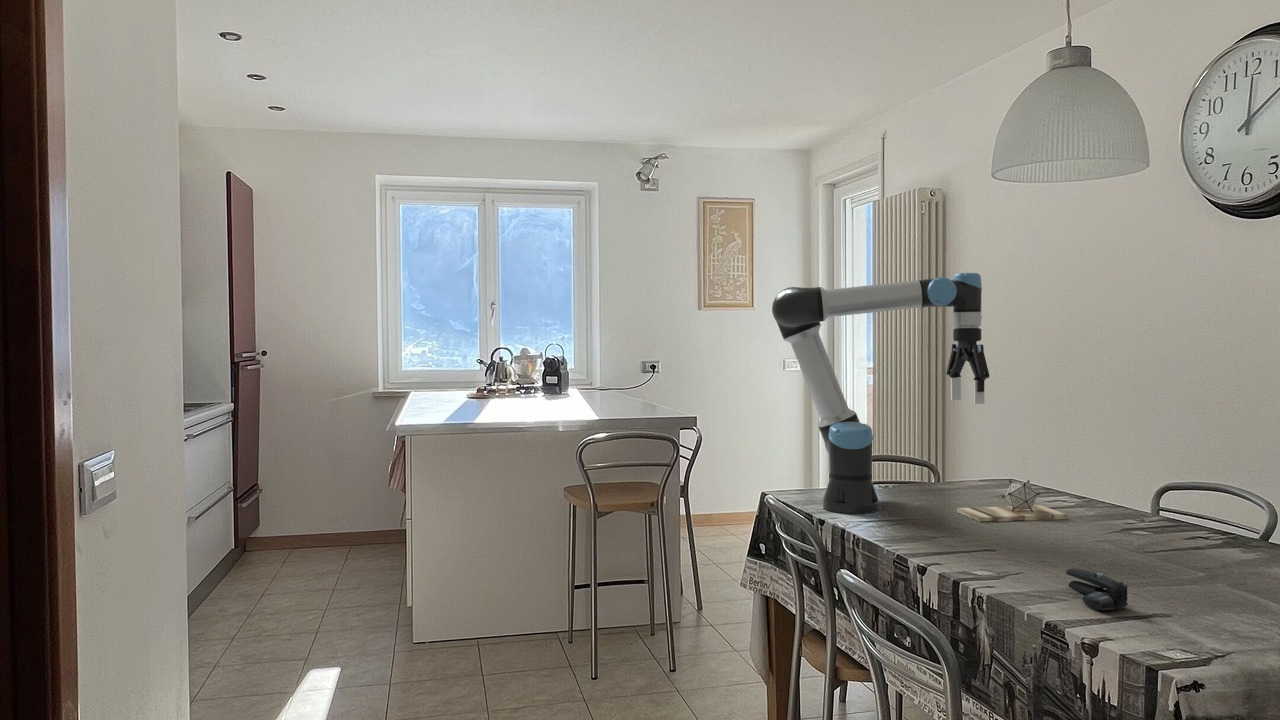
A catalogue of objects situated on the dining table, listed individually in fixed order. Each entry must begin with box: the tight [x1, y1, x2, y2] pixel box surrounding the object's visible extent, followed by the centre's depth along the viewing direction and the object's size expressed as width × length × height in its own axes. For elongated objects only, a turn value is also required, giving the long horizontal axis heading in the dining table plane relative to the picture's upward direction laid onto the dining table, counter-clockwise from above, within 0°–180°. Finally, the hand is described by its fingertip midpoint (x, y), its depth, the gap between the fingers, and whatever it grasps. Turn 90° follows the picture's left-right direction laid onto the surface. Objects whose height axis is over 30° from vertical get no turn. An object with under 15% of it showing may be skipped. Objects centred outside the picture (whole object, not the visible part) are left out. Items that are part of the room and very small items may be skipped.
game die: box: [1001, 479, 1041, 512], centre depth 230 cm, size 9×8×10 cm
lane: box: [956, 504, 1068, 522], centre depth 230 cm, size 24×12×1 cm, turn 97°
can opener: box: [1065, 567, 1129, 611], centre depth 158 cm, size 18×7×6 cm, turn 178°
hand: (967, 401), depth 248 cm, fingers open, 13 cm apart
